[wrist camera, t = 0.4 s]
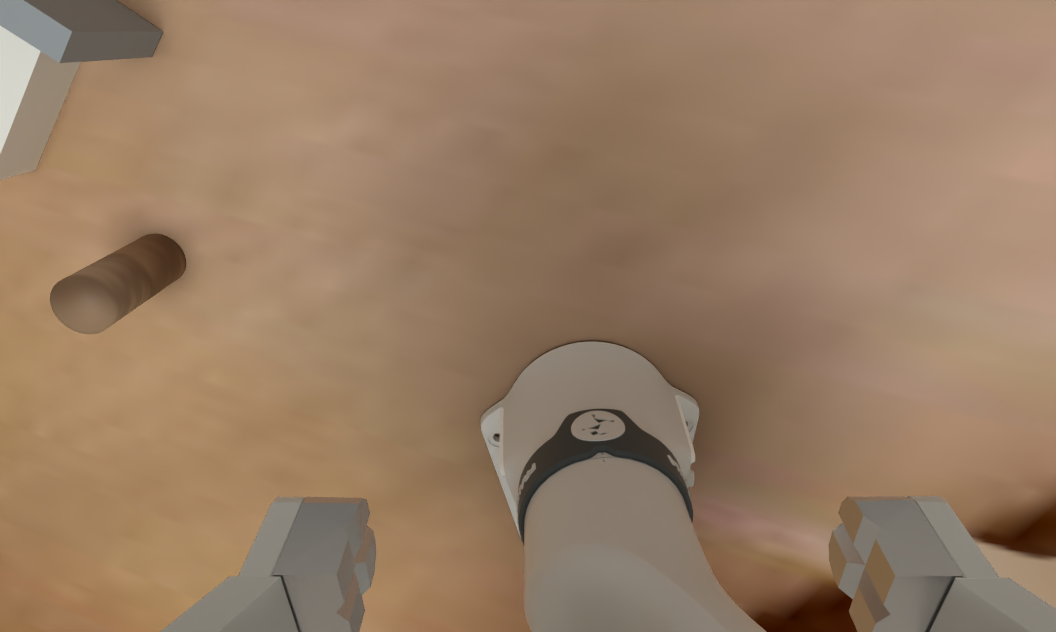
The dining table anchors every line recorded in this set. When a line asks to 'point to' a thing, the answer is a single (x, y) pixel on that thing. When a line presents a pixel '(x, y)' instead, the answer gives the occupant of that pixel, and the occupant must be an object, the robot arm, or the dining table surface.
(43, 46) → the slate backstop wall
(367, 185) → the dining table surface
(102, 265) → the walnut dowel
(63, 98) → the white socket block
